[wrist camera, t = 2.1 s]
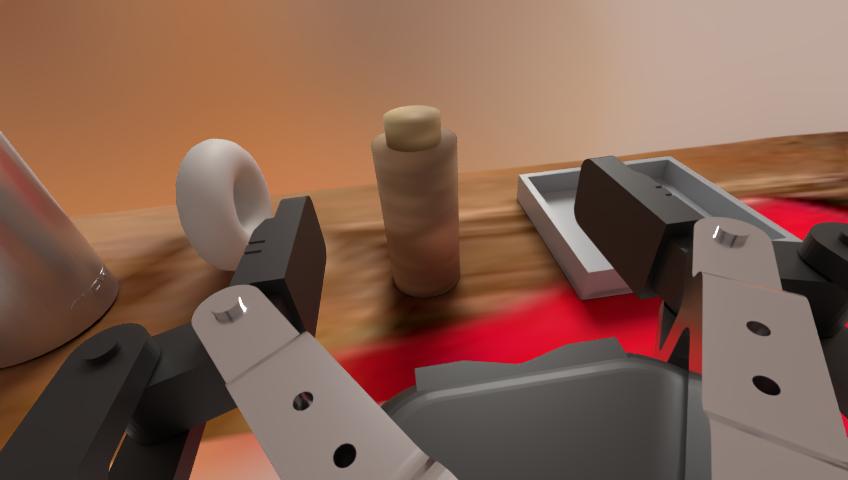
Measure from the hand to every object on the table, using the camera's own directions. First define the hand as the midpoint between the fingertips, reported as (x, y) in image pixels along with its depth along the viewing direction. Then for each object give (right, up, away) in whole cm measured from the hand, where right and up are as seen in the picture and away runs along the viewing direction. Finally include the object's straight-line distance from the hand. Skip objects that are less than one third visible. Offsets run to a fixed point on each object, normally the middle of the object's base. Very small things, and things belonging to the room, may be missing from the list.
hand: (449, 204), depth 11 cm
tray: (+16, 0, +19) cm, 25 cm away
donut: (-15, -3, +20) cm, 25 cm away
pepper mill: (-1, -4, +17) cm, 17 cm away
